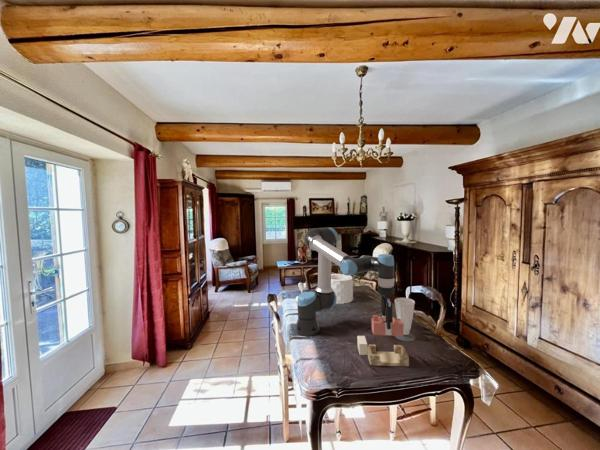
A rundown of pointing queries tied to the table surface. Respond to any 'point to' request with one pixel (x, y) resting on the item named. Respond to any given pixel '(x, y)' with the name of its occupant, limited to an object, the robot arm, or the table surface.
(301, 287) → the potted plant
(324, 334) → the table surface
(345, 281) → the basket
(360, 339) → the white block
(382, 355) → the cradle
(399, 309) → the cup
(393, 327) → the red notched block
